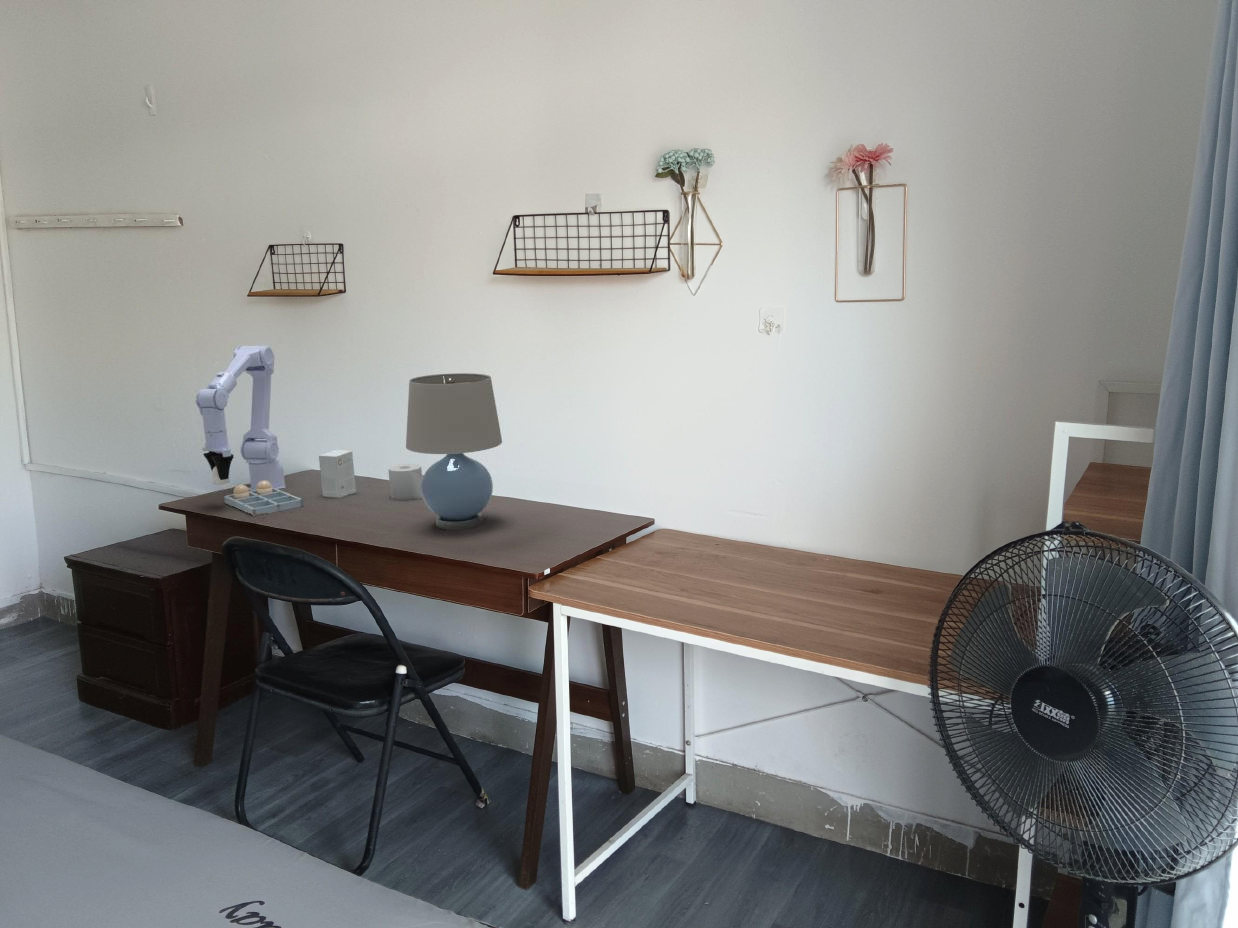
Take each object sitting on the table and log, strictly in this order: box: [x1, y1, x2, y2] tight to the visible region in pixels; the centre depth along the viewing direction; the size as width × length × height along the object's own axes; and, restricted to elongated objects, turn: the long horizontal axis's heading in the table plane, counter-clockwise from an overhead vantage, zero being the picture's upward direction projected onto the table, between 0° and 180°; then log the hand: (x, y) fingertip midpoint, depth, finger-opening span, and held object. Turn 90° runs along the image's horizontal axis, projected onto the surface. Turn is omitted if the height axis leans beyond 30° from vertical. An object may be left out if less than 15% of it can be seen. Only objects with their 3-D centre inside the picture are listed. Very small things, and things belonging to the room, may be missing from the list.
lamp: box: [405, 372, 503, 531], centre depth 243 cm, size 25×25×39 cm
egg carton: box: [223, 487, 305, 514], centre depth 269 cm, size 14×21×2 cm
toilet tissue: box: [387, 463, 424, 501], centre depth 277 cm, size 9×13×9 cm
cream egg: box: [211, 466, 230, 486], centre depth 266 cm, size 4×4×5 cm
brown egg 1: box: [232, 484, 250, 500], centre depth 271 cm, size 4×4×5 cm
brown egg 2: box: [257, 480, 272, 495], centre depth 276 cm, size 4×4×5 cm
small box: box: [318, 449, 357, 499], centre depth 278 cm, size 8×6×13 cm
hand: (221, 477), depth 266 cm, fingers closed on cream egg, 4 cm apart
